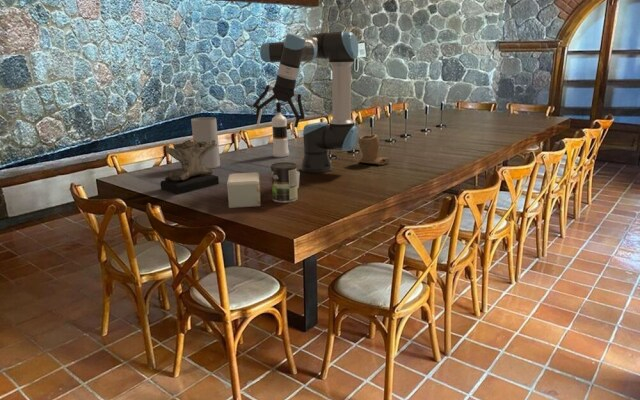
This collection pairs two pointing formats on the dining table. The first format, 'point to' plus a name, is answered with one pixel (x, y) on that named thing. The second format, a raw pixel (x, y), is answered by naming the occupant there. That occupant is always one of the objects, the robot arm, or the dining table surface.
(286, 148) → the vodka
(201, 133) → the cylinder vase
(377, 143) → the stone cup
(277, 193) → the coffee can
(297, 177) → the shot glass
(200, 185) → the coral
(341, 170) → the dining table surface
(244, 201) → the cabinet
